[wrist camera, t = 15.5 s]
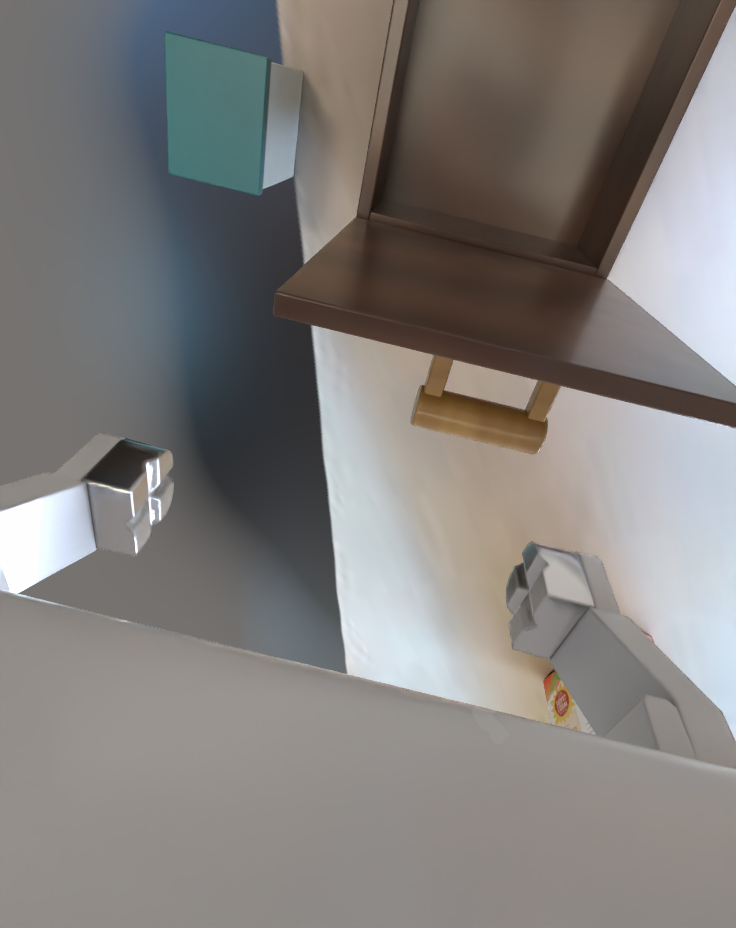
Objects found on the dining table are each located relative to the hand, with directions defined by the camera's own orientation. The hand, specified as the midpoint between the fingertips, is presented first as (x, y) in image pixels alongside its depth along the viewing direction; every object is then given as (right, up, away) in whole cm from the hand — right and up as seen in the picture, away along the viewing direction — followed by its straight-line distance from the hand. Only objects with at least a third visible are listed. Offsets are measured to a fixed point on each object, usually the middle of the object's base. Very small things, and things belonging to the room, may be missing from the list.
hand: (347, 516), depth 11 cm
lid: (+6, +9, +11) cm, 16 cm away
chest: (+10, +24, +20) cm, 33 cm away
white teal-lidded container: (-7, +24, +22) cm, 34 cm away
